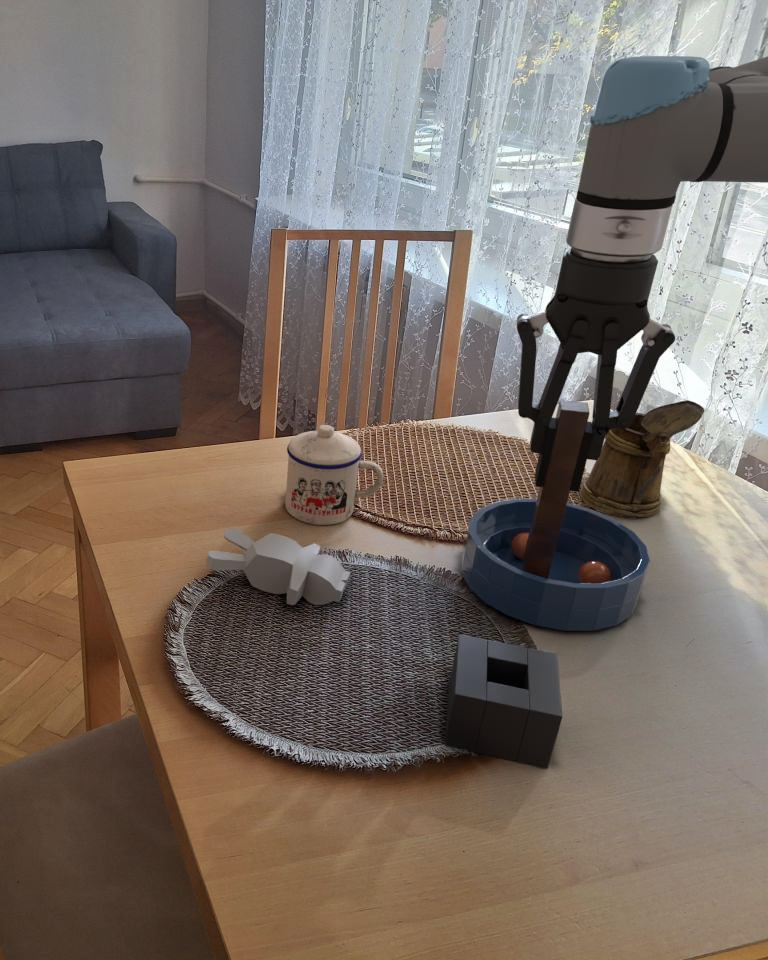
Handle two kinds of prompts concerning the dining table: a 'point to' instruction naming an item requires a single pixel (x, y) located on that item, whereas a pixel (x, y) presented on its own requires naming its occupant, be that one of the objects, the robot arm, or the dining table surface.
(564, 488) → the stick
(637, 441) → the wooden mug
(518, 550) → the bead
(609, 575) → the bead
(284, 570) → the bunny figurine
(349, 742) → the dining table surface
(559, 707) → the holder
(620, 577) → the bowl
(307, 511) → the teacup with lid
